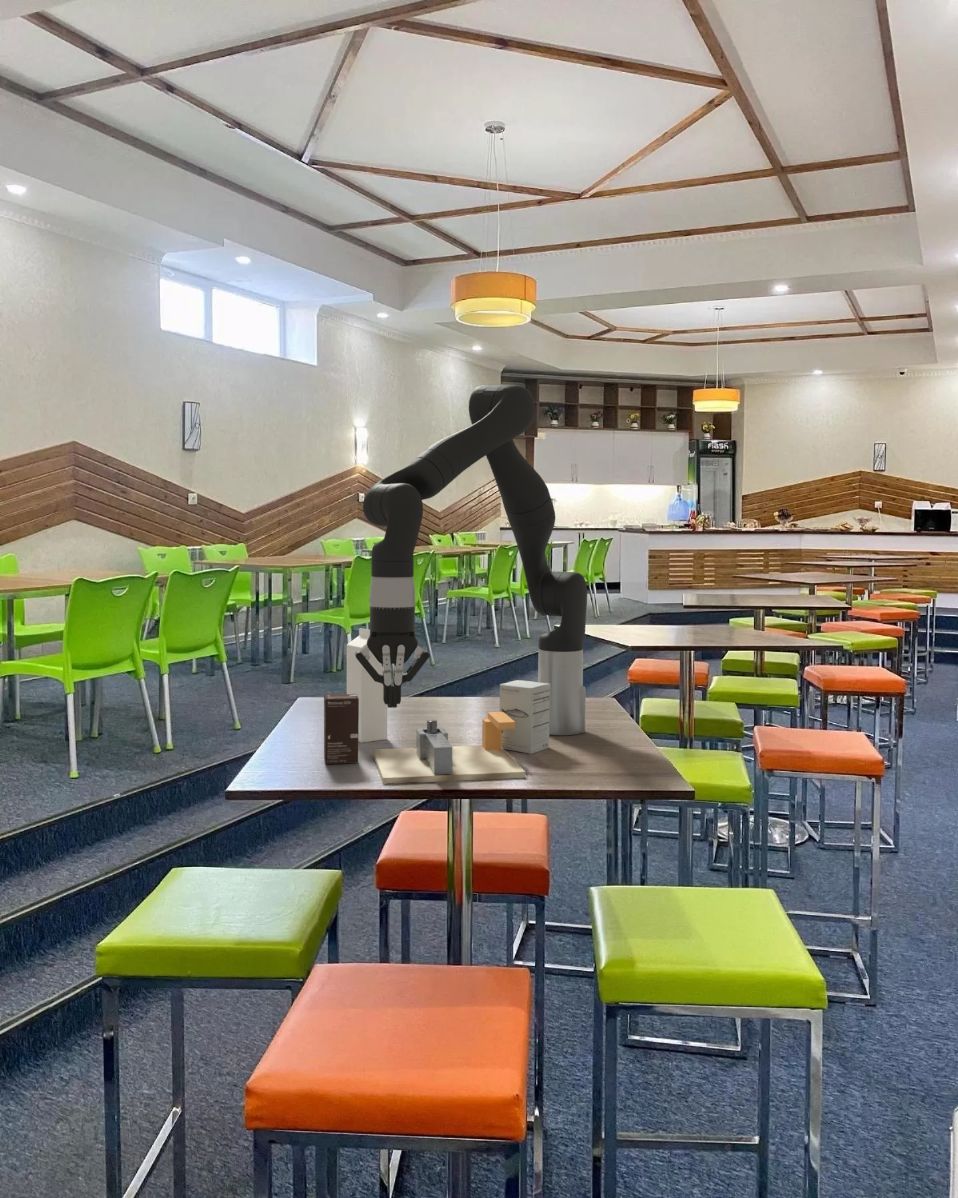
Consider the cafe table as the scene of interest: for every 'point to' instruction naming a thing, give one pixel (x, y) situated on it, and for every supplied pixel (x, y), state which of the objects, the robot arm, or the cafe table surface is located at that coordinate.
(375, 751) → the board
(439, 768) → the link
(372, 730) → the milk
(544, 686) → the supplement box
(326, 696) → the box
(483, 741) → the block
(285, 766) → the cafe table surface
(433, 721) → the pintle
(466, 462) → the robot arm
